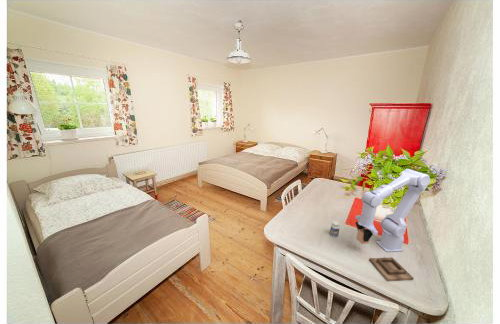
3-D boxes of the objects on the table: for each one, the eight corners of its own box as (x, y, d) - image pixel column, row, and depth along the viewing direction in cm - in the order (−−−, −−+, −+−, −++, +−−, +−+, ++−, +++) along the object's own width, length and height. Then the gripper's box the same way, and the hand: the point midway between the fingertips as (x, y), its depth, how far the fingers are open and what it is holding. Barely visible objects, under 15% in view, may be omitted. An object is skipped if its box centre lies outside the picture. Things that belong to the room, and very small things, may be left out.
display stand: (391, 259, 96) (393, 254, 95) (412, 279, 84) (414, 274, 84) (369, 260, 95) (370, 255, 94) (387, 281, 84) (388, 276, 83)
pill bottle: (329, 236, 112) (331, 224, 110) (329, 231, 117) (331, 219, 114) (338, 238, 111) (340, 225, 108) (338, 233, 115) (340, 221, 113)
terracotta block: (363, 238, 102) (365, 228, 101) (368, 243, 98) (370, 233, 97) (356, 238, 102) (358, 228, 100) (361, 243, 98) (363, 233, 96)
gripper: (351, 208, 103) (347, 229, 106) (369, 223, 89) (364, 248, 92) (364, 207, 103) (359, 229, 107) (384, 223, 89) (378, 247, 93)
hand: (362, 238), depth 100 cm, fingers closed on terracotta block, 4 cm apart
